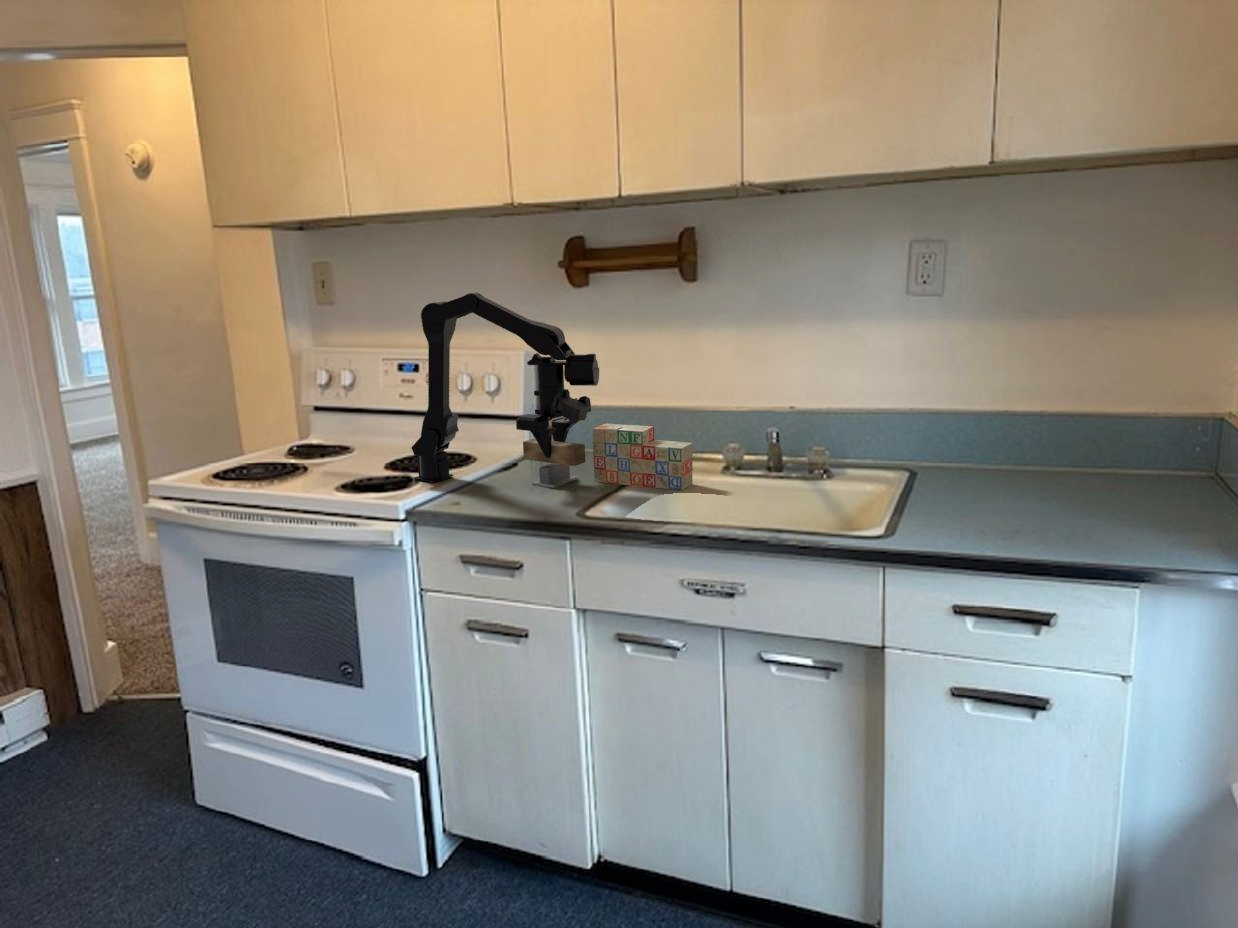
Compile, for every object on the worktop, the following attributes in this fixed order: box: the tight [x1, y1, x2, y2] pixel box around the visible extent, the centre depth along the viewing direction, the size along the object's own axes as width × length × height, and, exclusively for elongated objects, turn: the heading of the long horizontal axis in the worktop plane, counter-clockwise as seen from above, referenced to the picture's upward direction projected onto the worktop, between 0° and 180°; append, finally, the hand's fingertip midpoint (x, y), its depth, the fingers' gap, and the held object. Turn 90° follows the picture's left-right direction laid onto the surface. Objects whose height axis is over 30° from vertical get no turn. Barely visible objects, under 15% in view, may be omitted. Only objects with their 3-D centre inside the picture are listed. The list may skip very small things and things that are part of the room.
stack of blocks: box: [592, 423, 694, 491], centre depth 189 cm, size 21×6×12 cm, turn 62°
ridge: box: [531, 463, 579, 489], centre depth 192 cm, size 6×9×4 cm, turn 148°
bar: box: [522, 438, 586, 467], centre depth 191 cm, size 14×4×4 cm, turn 57°
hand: (553, 455), depth 191 cm, fingers closed on bar, 4 cm apart
